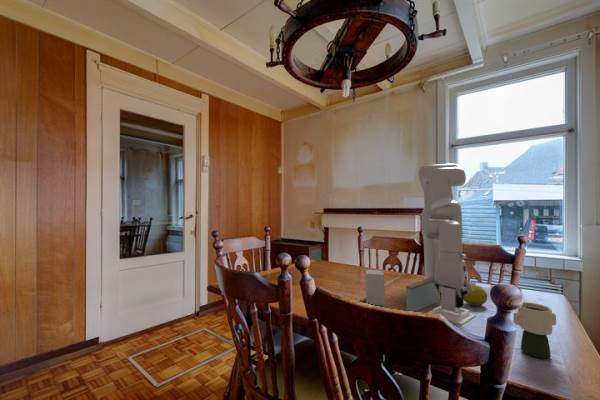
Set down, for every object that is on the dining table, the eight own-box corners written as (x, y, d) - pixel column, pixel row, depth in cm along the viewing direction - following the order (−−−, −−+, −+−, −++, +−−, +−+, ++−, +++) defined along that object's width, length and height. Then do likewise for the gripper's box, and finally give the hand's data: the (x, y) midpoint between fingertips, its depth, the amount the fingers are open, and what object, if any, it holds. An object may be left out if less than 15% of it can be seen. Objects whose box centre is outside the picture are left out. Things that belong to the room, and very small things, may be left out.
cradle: (442, 306, 110) (442, 301, 110) (476, 316, 100) (476, 310, 100) (427, 314, 102) (427, 308, 102) (461, 325, 93) (461, 319, 93)
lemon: (479, 301, 115) (479, 282, 115) (493, 308, 107) (493, 288, 107) (454, 302, 114) (454, 283, 114) (467, 309, 106) (466, 288, 107)
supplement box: (385, 305, 111) (384, 274, 111) (366, 304, 112) (365, 273, 113) (383, 299, 118) (382, 270, 118) (365, 298, 120) (365, 269, 120)
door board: (432, 300, 117) (432, 277, 117) (438, 301, 115) (437, 278, 115) (406, 311, 105) (406, 286, 105) (411, 313, 103) (411, 287, 103)
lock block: (447, 305, 105) (447, 284, 105) (461, 308, 101) (461, 287, 101) (441, 308, 102) (440, 286, 102) (455, 312, 98) (454, 289, 98)
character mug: (545, 347, 78) (544, 302, 78) (568, 362, 71) (567, 311, 71) (505, 346, 79) (504, 301, 79) (524, 361, 72) (523, 311, 72)
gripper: (480, 257, 97) (481, 309, 97) (432, 251, 111) (433, 296, 110) (471, 260, 92) (472, 314, 92) (423, 253, 106) (423, 300, 106)
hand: (451, 304), depth 101 cm, fingers closed on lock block, 5 cm apart
